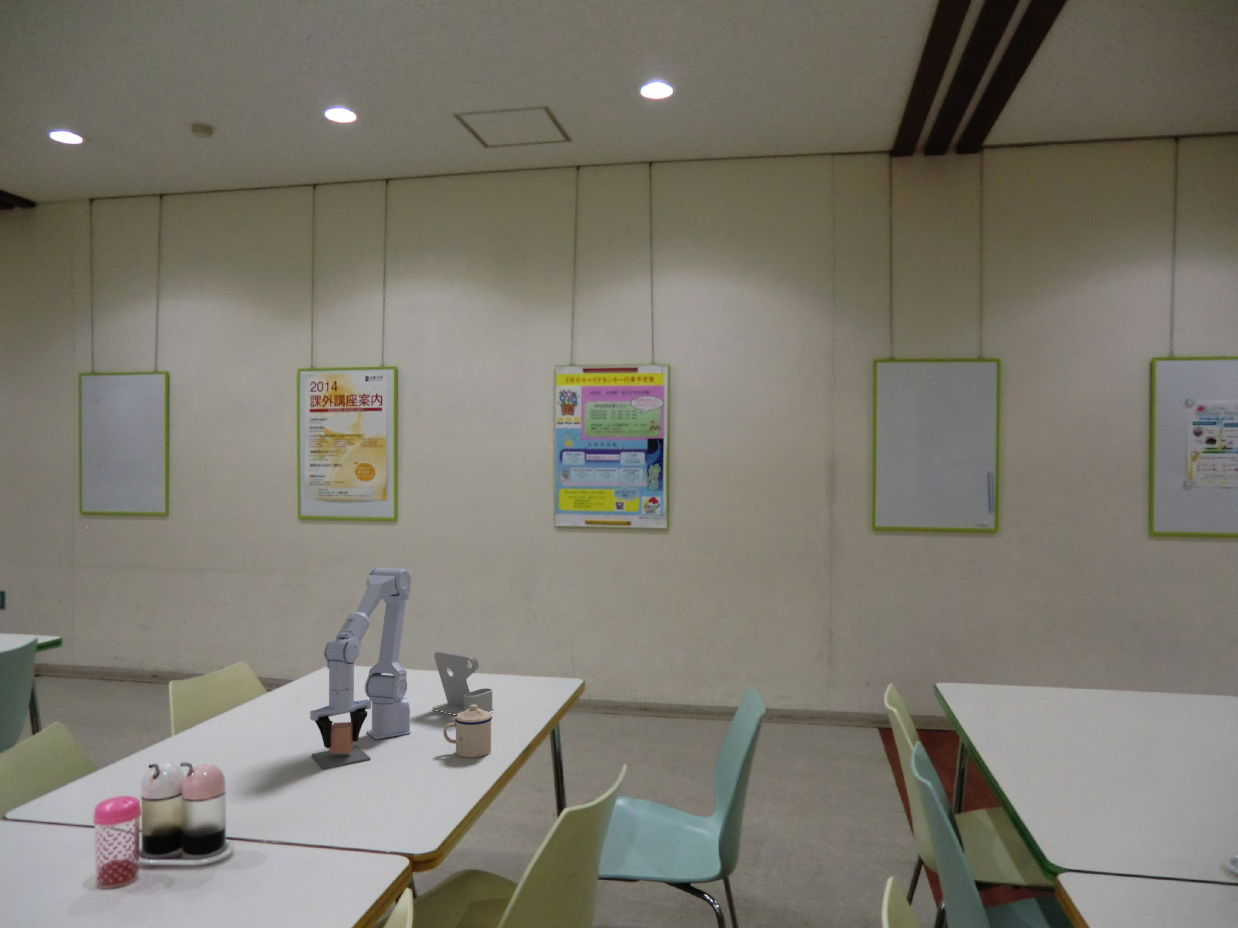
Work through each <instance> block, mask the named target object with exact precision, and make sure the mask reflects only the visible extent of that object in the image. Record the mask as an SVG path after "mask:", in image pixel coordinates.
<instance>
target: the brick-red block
mask: <svg viewBox="0 0 1238 928" xmlns="http://www.w3.org/2000/svg"><path fill="white" fill-rule="evenodd" d="M353 746H354V741H353V722H351V721H348V722H345V721H344V722H343V721H342V722H333V723H332V728H331V746H330V748H328V751H329V754H332V753H349V752H350V750H351V749H352V747H353Z"/></svg>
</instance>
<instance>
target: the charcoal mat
mask: <svg viewBox="0 0 1238 928" xmlns="http://www.w3.org/2000/svg"><path fill="white" fill-rule="evenodd" d="M311 757H312V758H313V759H314V760H315V762H316V763H317V764H318V766H320V768H322V770H327V769H331V768H332V769H333V768H337V766H338V767H343V766H348V765H352V764H356V763H357V764H358V763H362V762H367V761H371V757H370V756H369V755H368V754H367V753H366V752H365V751H364V750H363V749H361V747H359V745H353V747H352V749H351V750H350V752H349V753H332V754H329V750H324V751H321V752H320V751H319V752H314V753H311Z"/></svg>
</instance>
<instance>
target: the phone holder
mask: <svg viewBox="0 0 1238 928" xmlns="http://www.w3.org/2000/svg"><path fill="white" fill-rule="evenodd" d="M433 656H434V660H435V663H436V667H437V670H438V671H437V672H438V675H439V678H440V681H441V683H442V688H443V690H444V695H445V698H446V701H447V702H444V703H441V704H438V705H434V706H432V709H433V710H438V711H443V712H446V713H451V714H456V715H458V714H459V713H461V712H464V711H466V710H467V709H470V705H473V704H475V705H477V706H478V708H479V709H482V710H483V711H487V712H490V711H493V710H494V711H495V709H494V708H493V690H492V689H491V688H487V687H486V688H479V689H476V690H472V691H470V689H469V685H468V682H467V681H468V680H467V679H468V678H469V677H470V676H472V675H473V674H474V673H475V672H476V671H477V670H479V667H480V666H479V663H478V662H479V660H477V658H476V657H475V656H474V655H473V654H470V653H469V654H468V653H463V652H459V651H458V652H457V651H452V650H447V649H442V648H441V649H438V650H437V651H435V653H434V654H433ZM469 662H470V663H469ZM448 669H449V670H451V672H452V675H450V673H449V672H448ZM433 710H432V711H433Z"/></svg>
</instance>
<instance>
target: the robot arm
mask: <svg viewBox="0 0 1238 928" xmlns="http://www.w3.org/2000/svg"><path fill="white" fill-rule="evenodd" d="M411 584H412V577H411V574H410V572H409V571H408V569H406V568H390V567H387V568H385V567H373V568H372V569H371V570H370V571H369V574H368V576H367V578H366V586H367V587H366V590H365V592H364V595H363V597H362V598H361V601H360V602H359V604H358V606H357V609H356V611H355V612H353V613H349V614H348V616H347V617H346V620H345V621H344V623H343V624H342V626H341V628H340V630H339V631H338V633H337V634H336V636H335V637H333V638H332V639H330V640H329V641H328V642H327V643H326V645H325V647H324V651H323V657H324V659H325V661H326V668H327V669H328V670H329V671H328V705H326V706H323V707H320V708H317V709H315V710H314V709H313V710H310V711H309V717H310V718H309V719H310V720H311V721H313V722H315V724H316V725H317V728H318V730H319V732H320V736H321V738H322V742H323V747H324V748H325V749H329V748H330V746H331V728H332V725H333V724H334V722H333V721H332V720H330V719H331V718H330V717H334V716H339V715H344V714H349V716H350V718H349V719H350V722H353V743H354V742H355V743H356V742H358V741H359V736H360V732H361V729H362V727H363V725H364V722H365V720H366V719H367V717H368V711H366V710H371V729H367V730H366V733H367V734H369V735H370V736H371V738H372V739H374V740H381V739H387V738H392V737H397V736H398V737H399V736H403V735H409V734H411V731H410V725H411V721H410V720H411V715H410V714H411V712H410V711H411V708H410V702H409V700H408V698H407V697H406V693H407V689H408V681H407V674H408V673H407V670H406V669H405V668H404V667H403V666H402V665H400V663H399V661H400V654H401V653H400V652H401V645H402V639H403V638H402V636H403V630H404V629H403V628H404V622H405V621H404V620H405V612H406V607H407V606H406V604H407V600H409V599H410V591H411ZM382 600H383V601H384V603H385V609H384V617H383V623H382V624H383V625H382V633H381V639H380V648H379V654H378V655H379V657H378V662H377V663H376V664H375V665H373V666H372V667H370V668H369V671H368V676H367V678H366V681H365V684H364V692H365V694H366V696H367V697H368V698H369V699H362V700H355V699H354V698H355V687H354V686H355V661H356V660H357V659H358V657H359V655H360V648H361V646H362V642H361V641H362V639H363V638H364V636H365V634H366V632H367V630H368V628H370V625H371V624H370V619H369V618H370V617H371V615H372V614H373V613H374V611H375V610H376V608H377V607H378V605H379V603H380V602H381V601H382ZM404 696H405V697H404ZM354 700H355V701H354Z"/></svg>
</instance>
